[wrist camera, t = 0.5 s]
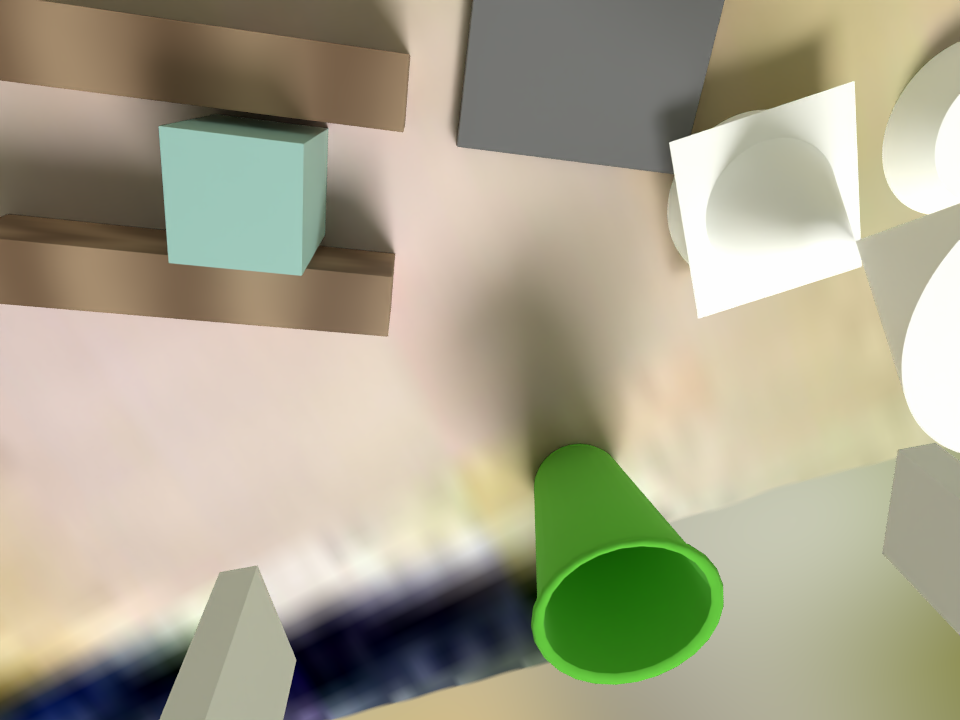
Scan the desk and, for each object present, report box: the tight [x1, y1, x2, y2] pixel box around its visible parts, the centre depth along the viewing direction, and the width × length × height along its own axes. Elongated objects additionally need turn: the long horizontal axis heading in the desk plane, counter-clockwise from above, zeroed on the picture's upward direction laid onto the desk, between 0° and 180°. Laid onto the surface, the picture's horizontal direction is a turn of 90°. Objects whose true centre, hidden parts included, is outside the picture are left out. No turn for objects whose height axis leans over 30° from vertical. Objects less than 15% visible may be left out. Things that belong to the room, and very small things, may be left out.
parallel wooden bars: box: [0, 0, 410, 336], centre depth 28 cm, size 18×12×4 cm, turn 82°
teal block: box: [159, 114, 328, 276], centre depth 27 cm, size 5×5×7 cm
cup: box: [531, 444, 723, 685], centre depth 34 cm, size 9×9×11 cm
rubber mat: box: [457, 0, 725, 174], centre depth 28 cm, size 11×11×1 cm
